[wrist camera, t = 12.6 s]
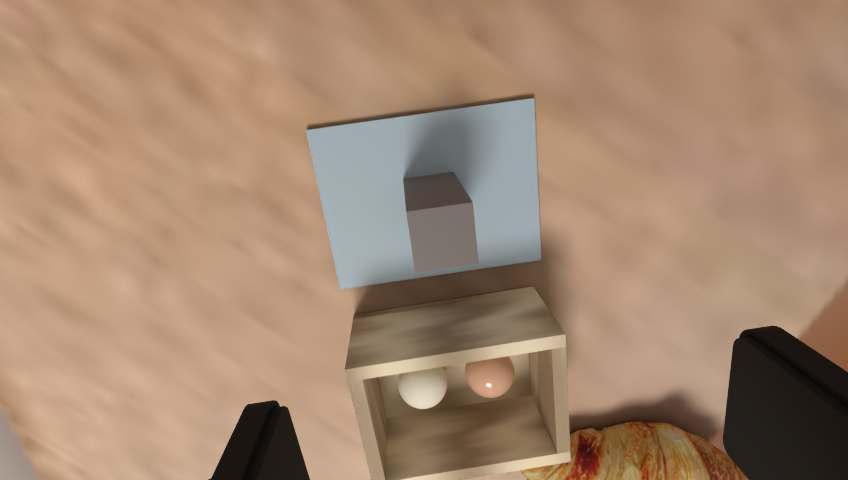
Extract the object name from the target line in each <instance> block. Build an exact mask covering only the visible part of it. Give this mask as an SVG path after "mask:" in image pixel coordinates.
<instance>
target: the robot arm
mask: <svg viewBox="0 0 848 480" xmlns="http://www.w3.org/2000/svg"><path fill="white" fill-rule="evenodd" d="M723 443H724V447H725V450H726V452H727V454H728V456H729V457H730V458H731V460H732V461H733V462H734V463H735V464H736V465H737V467H738V468H739V469H740V470H741V471H742V472H743V474H744V475H745V476H746V477H747V478H748V479H749V480H848V372H847V371H845V370H844V369H842V368H840V367H839V366H837V365H836V364H834V363H833V362H831V361H830V360H828V359H827V358H825V357H824V356H822V355H821V354H819V353H818V352H816V351H815V350H813V349H812V348H810V347H809V346H807V345H806V344H804V343H803V342H801V341H800V340H798V339H797V338H795V337H794V336H792V335H791V334H789V333H788V332H786V331H785V330H783V329H782V328H779V327H777V326H767V327H761V328H754V329H747V330H744V331H743V332H742V333H741V334H740V337H739V338H738V339H736V340H735V341H734V344H733V352H732V361H731V370H730V379H729V388H728V397H727V406H726V416H725V425H724V434H723ZM208 480H310V479H309V475H308V472H307V469H306V466H305V462H304V459H303V456H302V452H301V449H300V446H299V443H298V439H297V436H296V433H295V429H294V426H293V423H292V420H291V416H290V413H289V410H288V408H287V407H286V406H282V407H280V406H279V403H278V402H277V401H274V400H273V401H267V402H260V403H253V404H248V405H247V406H246V407H245V408H244V410H243V412H242V414H241V416H240V419H239V421H238V423H237V425H236V427H235V429H234V431H233V433H232V435H231V438H230V440H229V442H228V444H227V446H226V448H225V450H224V452H223V455H222V457H221V459H220V461H219V463H218V465H217V467H216V469H215V472H214V474H213V476H212V478H211V479H208Z"/></svg>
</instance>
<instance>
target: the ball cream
mask: <svg viewBox="0 0 848 480" xmlns="http://www.w3.org/2000/svg"><path fill="white" fill-rule="evenodd" d="M398 389H399V392H400V395H401V396H402V398H403V400H404V401H405V402H406V403H407V404H409V405H410V406H412V407H414V408H418V409H427V408H431V407H433V406H435V405H437V404H438V403H439V402H440V401H441V400H442V398H443V397H444V395H445V393H446V390H447V377H446V373H445V371H444V369H443V368H442V367H438V368H432V369H425V370H419V371H413V372H407V373H400V374H399V378H398Z"/></svg>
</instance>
